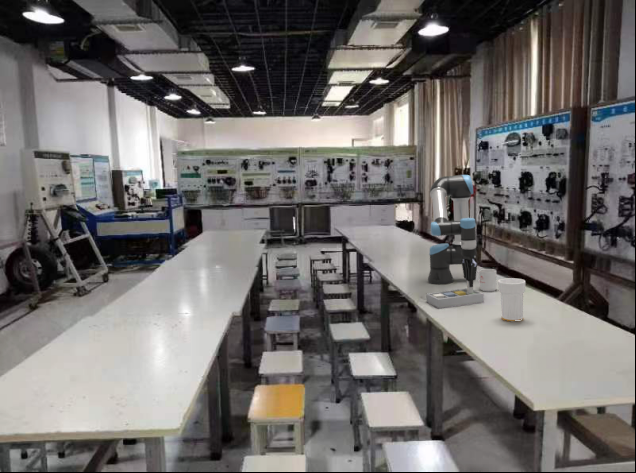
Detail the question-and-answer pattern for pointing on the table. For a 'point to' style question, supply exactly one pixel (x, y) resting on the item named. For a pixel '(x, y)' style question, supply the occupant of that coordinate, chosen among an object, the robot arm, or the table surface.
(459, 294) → the key mustard
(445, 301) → the keypad
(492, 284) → the mug
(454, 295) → the key slate
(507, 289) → the cup
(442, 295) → the key ivory
